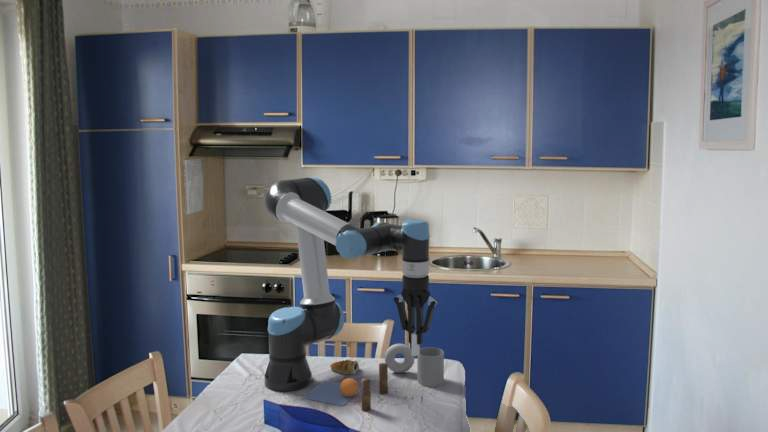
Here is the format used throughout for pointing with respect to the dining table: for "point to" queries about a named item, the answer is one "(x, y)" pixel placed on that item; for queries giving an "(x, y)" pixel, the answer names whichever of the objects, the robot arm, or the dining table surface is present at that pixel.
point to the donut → (395, 365)
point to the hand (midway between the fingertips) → (415, 354)
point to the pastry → (345, 366)
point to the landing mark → (329, 393)
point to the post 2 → (383, 378)
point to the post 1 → (365, 394)
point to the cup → (430, 367)
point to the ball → (349, 387)
